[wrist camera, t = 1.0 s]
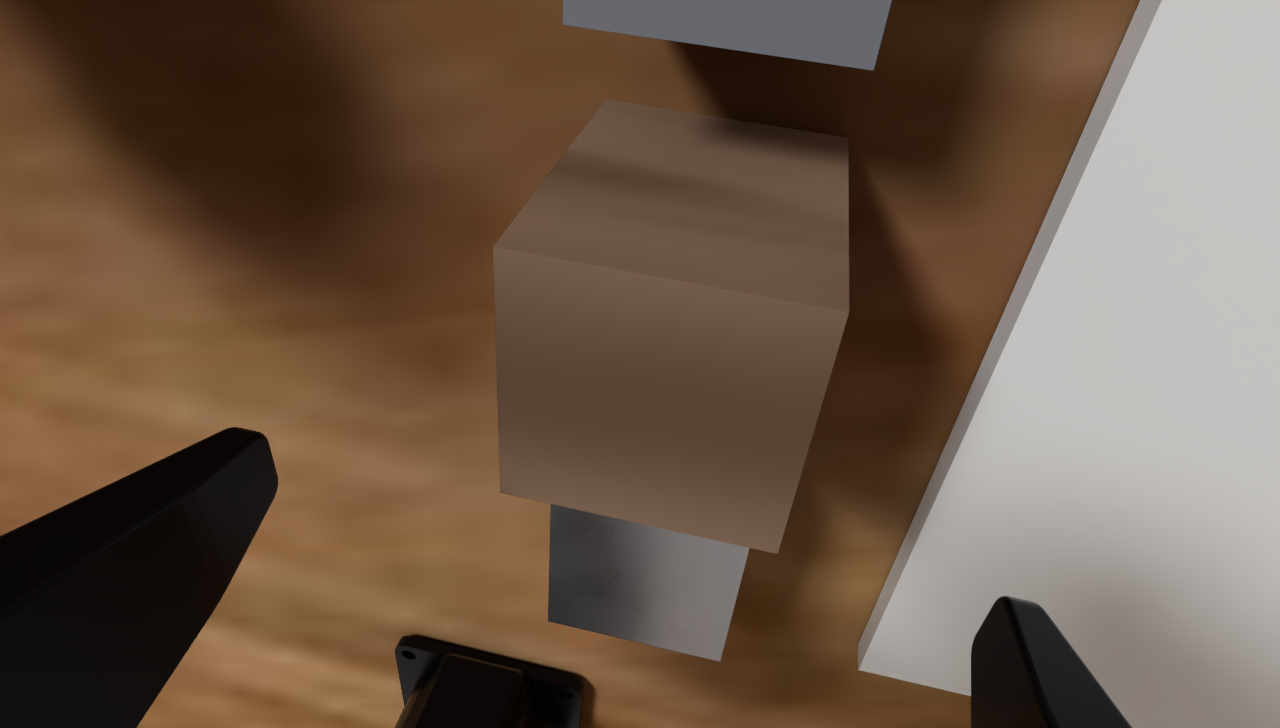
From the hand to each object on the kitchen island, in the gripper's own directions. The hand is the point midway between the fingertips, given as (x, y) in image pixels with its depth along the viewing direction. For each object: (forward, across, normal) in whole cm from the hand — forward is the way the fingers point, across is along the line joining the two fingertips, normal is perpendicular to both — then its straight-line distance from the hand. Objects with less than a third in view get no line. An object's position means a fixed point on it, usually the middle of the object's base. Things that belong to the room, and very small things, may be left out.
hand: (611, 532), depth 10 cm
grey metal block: (+8, 0, +6) cm, 10 cm away
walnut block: (+8, 0, 0) cm, 8 cm away
